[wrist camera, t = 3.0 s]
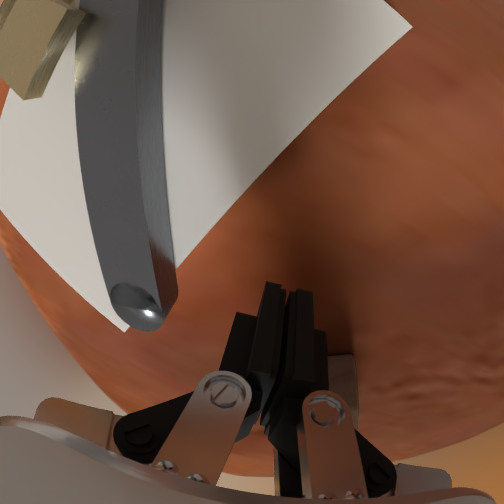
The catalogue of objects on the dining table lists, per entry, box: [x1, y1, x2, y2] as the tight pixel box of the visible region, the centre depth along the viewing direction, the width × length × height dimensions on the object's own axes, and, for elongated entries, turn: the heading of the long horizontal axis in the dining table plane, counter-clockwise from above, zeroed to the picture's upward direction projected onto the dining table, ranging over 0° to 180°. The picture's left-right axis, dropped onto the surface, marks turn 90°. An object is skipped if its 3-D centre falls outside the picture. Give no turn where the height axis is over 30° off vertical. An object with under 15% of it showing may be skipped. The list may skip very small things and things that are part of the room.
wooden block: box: [328, 354, 359, 430], centre depth 12 cm, size 9×4×18 cm, turn 13°
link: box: [75, 0, 178, 332], centre depth 9 cm, size 22×4×2 cm, turn 179°
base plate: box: [0, 0, 412, 332], centre depth 12 cm, size 23×16×2 cm
